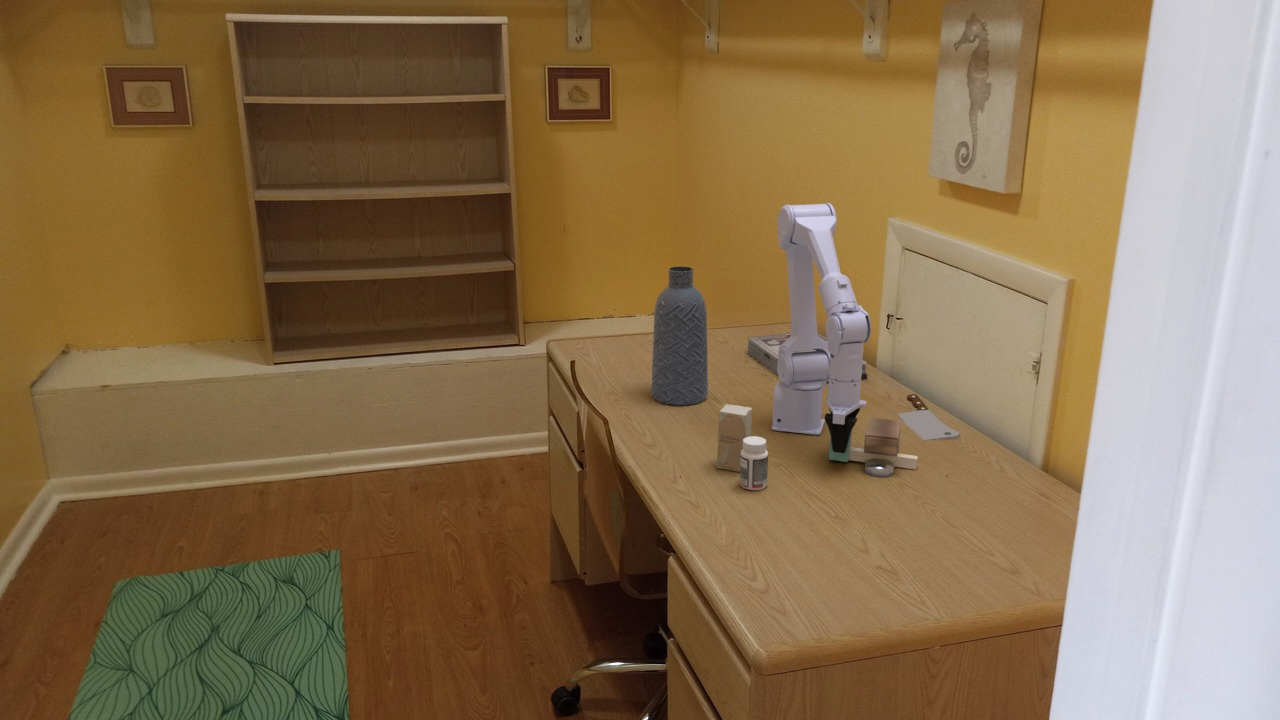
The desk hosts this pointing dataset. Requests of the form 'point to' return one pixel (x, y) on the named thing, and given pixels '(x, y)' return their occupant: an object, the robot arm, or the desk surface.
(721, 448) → the box
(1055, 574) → the desk surface
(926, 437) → the kitchen cleaver
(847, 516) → the desk surface
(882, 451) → the cabinet
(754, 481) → the pill bottle
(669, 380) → the vase
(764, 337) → the board game box
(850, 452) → the teal toy mallet
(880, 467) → the disc
